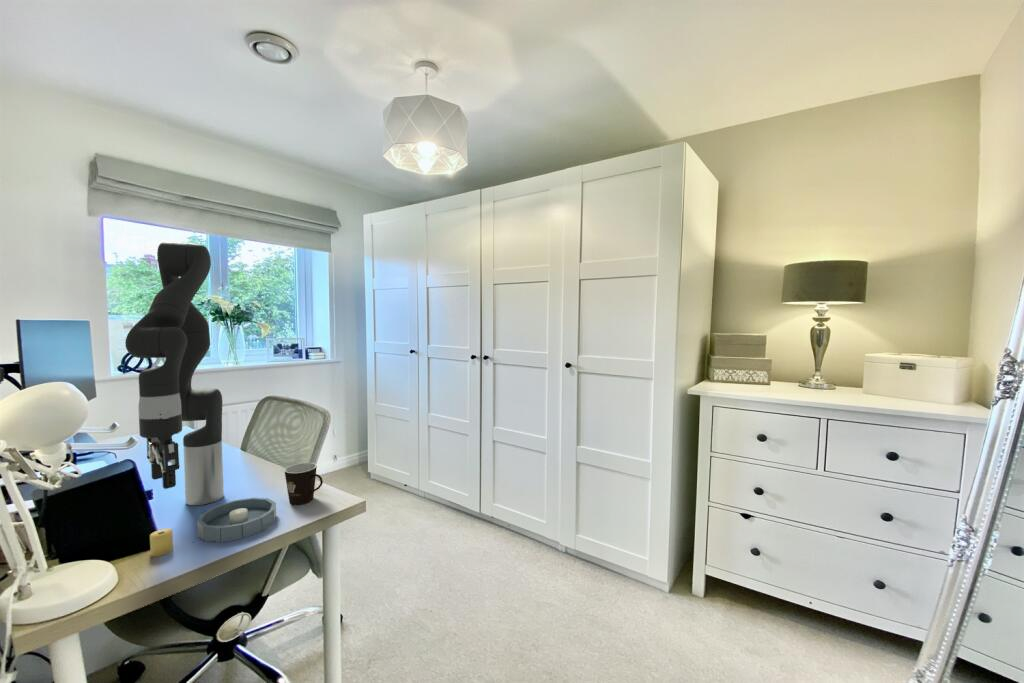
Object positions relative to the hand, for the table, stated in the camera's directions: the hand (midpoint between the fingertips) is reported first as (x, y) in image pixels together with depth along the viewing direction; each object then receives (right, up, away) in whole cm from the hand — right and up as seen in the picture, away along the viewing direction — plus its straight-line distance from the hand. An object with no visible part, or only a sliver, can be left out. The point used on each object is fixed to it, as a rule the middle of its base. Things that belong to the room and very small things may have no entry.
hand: (163, 482), depth 97 cm
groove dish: (+9, -16, +13) cm, 22 cm away
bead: (-1, -16, +1) cm, 16 cm away
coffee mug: (+19, -15, +27) cm, 36 cm away
